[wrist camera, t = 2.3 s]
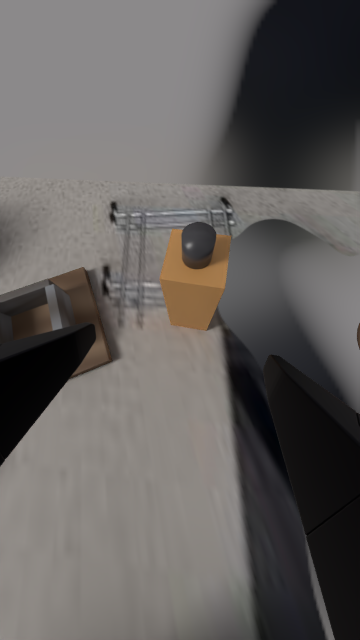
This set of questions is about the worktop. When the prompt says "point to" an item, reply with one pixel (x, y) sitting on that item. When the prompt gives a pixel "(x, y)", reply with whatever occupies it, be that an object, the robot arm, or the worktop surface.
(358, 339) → the pumpkin
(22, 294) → the holder
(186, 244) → the plug
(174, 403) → the worktop surface
